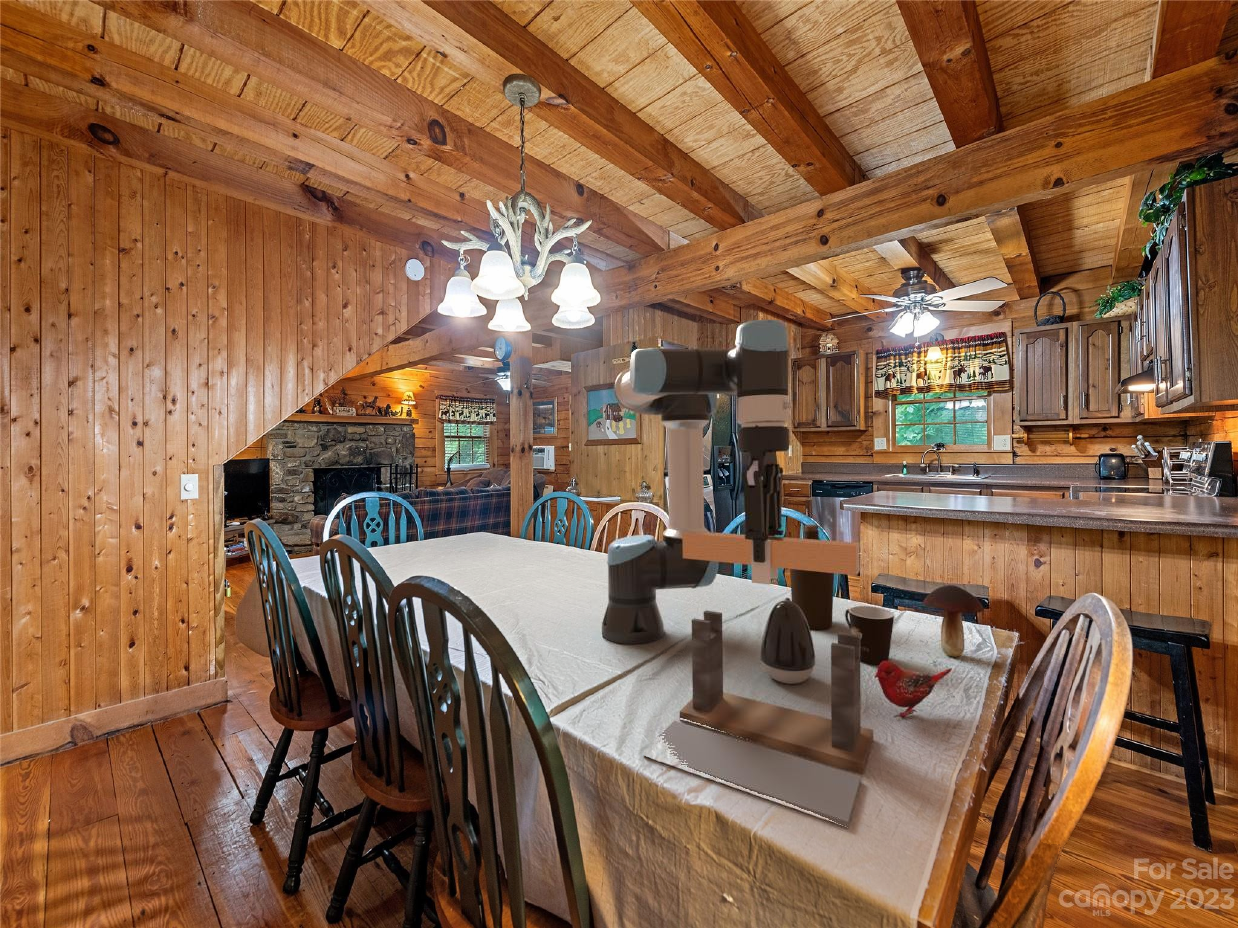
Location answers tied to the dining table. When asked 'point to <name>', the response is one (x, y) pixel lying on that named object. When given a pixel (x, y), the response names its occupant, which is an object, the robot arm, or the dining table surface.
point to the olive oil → (813, 590)
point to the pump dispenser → (787, 644)
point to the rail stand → (778, 725)
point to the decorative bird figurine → (905, 685)
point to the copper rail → (775, 552)
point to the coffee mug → (871, 632)
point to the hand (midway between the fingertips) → (765, 579)
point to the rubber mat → (766, 771)
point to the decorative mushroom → (953, 615)
